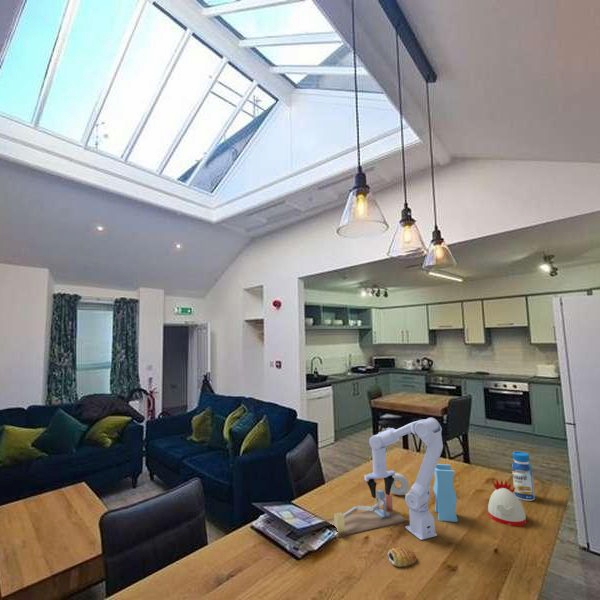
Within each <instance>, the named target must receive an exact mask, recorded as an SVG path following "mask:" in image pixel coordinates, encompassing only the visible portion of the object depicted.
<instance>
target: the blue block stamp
mask: <svg viewBox="0 0 600 600" xmlns="http://www.w3.org/2000/svg"><path fill="white" fill-rule="evenodd" d="M375 499H376V503H378V502H379V501H381V500H382V501H383V502H384V511H383V510H382V509H379V508H380V507H378V508H377V510H375V511H374V513H375V514H376V515H378V516H379V517H380V518H381V519H382V518H387V517H390V516H389V515H388V514H387V513H386V501H385V500H384V499H385V490H383V489H377V490H376V498H375Z"/></svg>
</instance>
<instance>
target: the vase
mask: <svg viewBox="0 0 600 600" xmlns="http://www.w3.org/2000/svg"><path fill="white" fill-rule="evenodd" d="M451 468H452V465H451V464H444V463H443V464H442V463H437V466H436V469H435V472H434V483H433V488H432V489H433V492H434V493H433V494H434V496H435V497H434V498H435V508H434V512H435V513H438V514H437V515H438V516H437V521H440V522H441V521H443V522H452V523H453V522H456V523H457V522H458V517H457V510H456V509H457V508H456V505H457V500H458V498H457V493H456V491H455V488H454V475H455V470H451Z"/></svg>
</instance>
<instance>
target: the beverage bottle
mask: <svg viewBox="0 0 600 600" xmlns="http://www.w3.org/2000/svg"><path fill="white" fill-rule="evenodd" d="M512 459H513V463H512V465H511V468H512V471H511V473H512V480H513V481H512V482H513V488H514V487H515V490H514V492H513V493H514V494H515V495H516V496H517V497H518V499H519V500H520V501H527V502H531V501H534V500H535V499H536V496H535V488H534V487H535V486H534V474H533V468H532V466H531V464H530V460H531V459H530V454H529V453H527V452H524V451H513V452H512Z"/></svg>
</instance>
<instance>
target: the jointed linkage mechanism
mask: <svg viewBox="0 0 600 600" xmlns="http://www.w3.org/2000/svg"><path fill="white" fill-rule="evenodd" d="M384 493H385V492H384ZM384 500H385V501H386V512H389V511H393V510H394V508H393V495H392V494H391V493H390V495H387V494H386V493H385V499H384ZM378 507H379V508H381V507H382V508H383V509H384V502H383V501H382V500H378V503H377V502H375V504H373V505H372V506H370V505H355V506H353V507H352V508H350V509H348V510H347V511H346V512H341V511H340V512H335V513H333V516H334V517H333V518H334V526H335V527H336V528H337V531H338V533H337V534H338V535H339V534H343V533H345V524H344V519H345V518H346V517H348V516H349V515H351V514H355V512H358V511H364V512H365V511H374V510H376V509H377V508H378Z"/></svg>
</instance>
